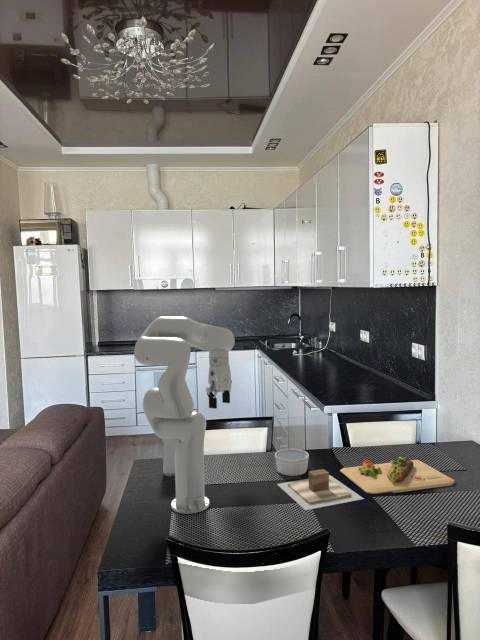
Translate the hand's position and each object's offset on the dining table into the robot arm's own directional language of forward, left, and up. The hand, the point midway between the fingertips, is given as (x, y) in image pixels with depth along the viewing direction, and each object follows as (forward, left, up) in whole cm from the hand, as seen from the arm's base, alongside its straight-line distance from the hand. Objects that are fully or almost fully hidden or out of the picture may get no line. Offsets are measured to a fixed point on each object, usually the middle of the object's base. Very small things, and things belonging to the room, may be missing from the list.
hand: (219, 405), depth 185 cm
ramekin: (-10, -26, -27) cm, 38 cm away
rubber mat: (-31, -26, -27) cm, 48 cm away
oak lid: (-31, -26, -26) cm, 48 cm away
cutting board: (-30, -59, -27) cm, 71 cm away
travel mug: (+6, +18, -27) cm, 33 cm away
